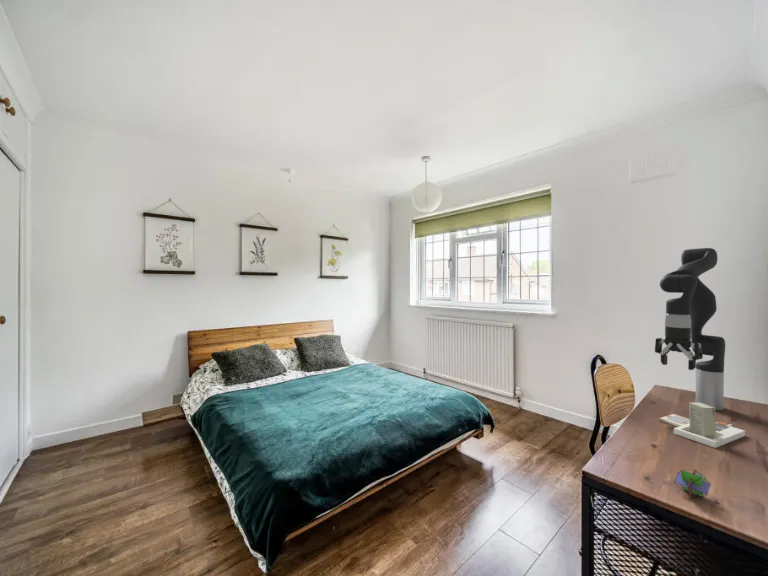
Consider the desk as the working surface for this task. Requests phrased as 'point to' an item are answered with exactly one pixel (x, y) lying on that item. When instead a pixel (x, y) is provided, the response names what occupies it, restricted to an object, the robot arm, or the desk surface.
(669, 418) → the cream flat rectangular plate
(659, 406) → the desk surface
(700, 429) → the skincare box
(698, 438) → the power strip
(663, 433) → the desk surface
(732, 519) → the desk surface
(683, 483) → the geometric puzzle
